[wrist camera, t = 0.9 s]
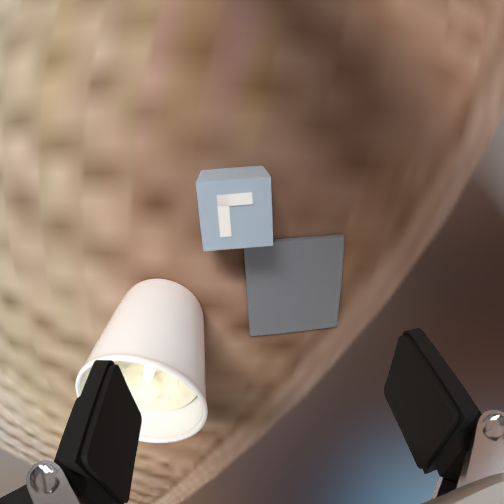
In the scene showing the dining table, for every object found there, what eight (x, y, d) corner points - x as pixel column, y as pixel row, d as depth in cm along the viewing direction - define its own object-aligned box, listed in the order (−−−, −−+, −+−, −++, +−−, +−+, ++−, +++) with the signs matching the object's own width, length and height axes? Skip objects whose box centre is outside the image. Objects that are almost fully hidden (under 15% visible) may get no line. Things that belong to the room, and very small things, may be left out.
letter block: (201, 170, 25) (195, 182, 21) (262, 165, 26) (271, 177, 21) (207, 229, 28) (203, 253, 23) (265, 224, 28) (273, 248, 23)
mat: (243, 241, 28) (243, 244, 28) (342, 234, 29) (344, 236, 28) (249, 332, 32) (250, 336, 32) (335, 323, 33) (336, 326, 32)
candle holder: (133, 354, 33) (108, 442, 22) (102, 277, 29) (52, 360, 18) (219, 346, 33) (220, 441, 22) (200, 263, 29) (187, 353, 18)
